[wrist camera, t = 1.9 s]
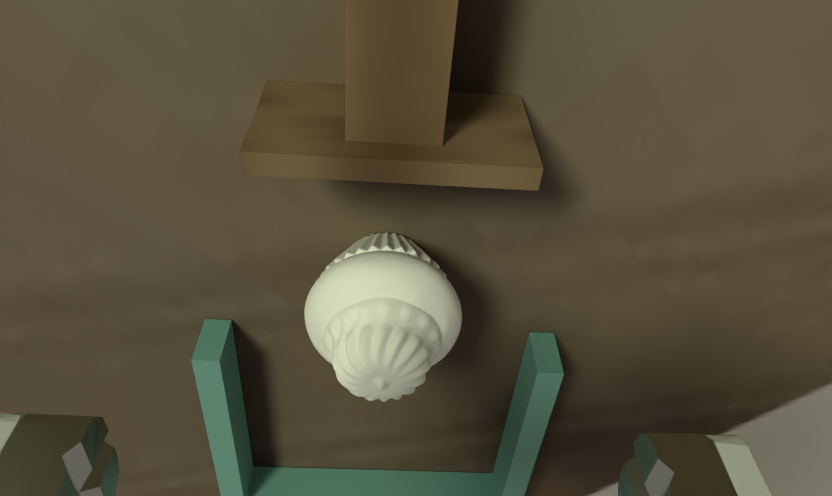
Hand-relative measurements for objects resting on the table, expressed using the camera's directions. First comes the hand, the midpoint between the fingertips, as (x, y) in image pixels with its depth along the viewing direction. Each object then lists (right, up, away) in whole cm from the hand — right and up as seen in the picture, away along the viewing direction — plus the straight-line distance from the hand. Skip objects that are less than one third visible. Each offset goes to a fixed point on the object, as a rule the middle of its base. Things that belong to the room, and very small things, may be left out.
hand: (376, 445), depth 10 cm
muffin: (-1, +3, +18) cm, 18 cm away
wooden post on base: (0, +13, +10) cm, 16 cm away
